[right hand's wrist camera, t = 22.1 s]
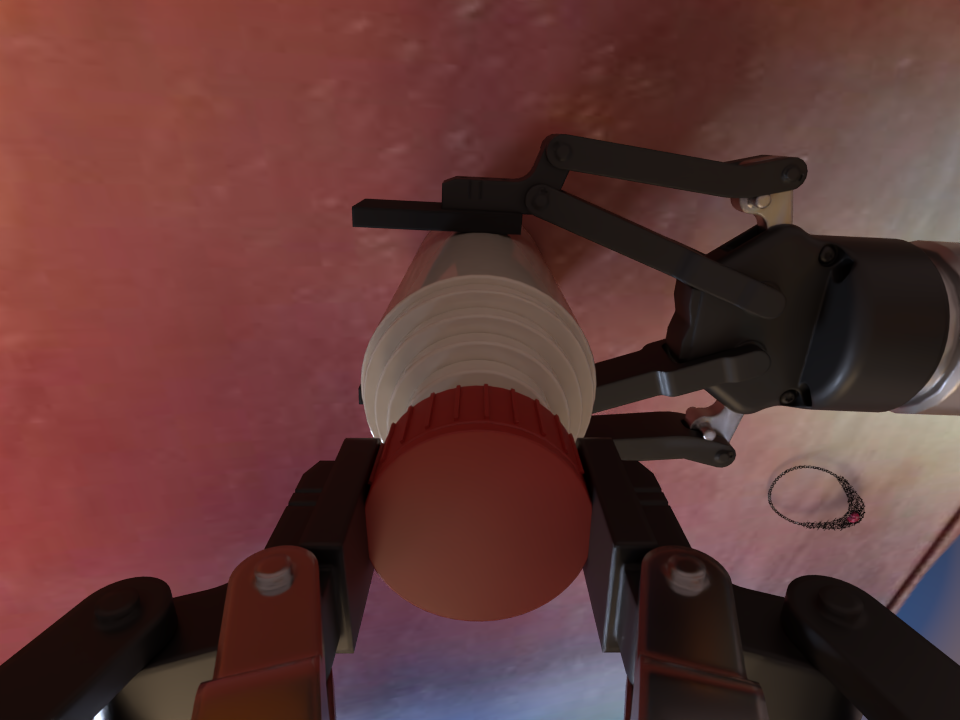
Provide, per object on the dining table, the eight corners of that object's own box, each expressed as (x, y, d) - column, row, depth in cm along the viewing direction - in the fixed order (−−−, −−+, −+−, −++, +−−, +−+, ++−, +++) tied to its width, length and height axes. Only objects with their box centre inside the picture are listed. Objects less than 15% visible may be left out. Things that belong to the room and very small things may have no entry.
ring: (835, 537, 37) (844, 548, 36) (754, 506, 36) (761, 516, 35) (875, 488, 36) (886, 497, 35) (792, 454, 35) (801, 463, 34)
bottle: (566, 292, 31) (712, 553, 12) (461, 356, 32) (435, 687, 13) (497, 182, 29) (537, 274, 9) (389, 256, 30) (228, 470, 11)
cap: (333, 462, 12) (308, 519, 10) (494, 339, 11) (497, 378, 9) (464, 586, 14) (463, 657, 12) (620, 486, 13) (645, 546, 11)
